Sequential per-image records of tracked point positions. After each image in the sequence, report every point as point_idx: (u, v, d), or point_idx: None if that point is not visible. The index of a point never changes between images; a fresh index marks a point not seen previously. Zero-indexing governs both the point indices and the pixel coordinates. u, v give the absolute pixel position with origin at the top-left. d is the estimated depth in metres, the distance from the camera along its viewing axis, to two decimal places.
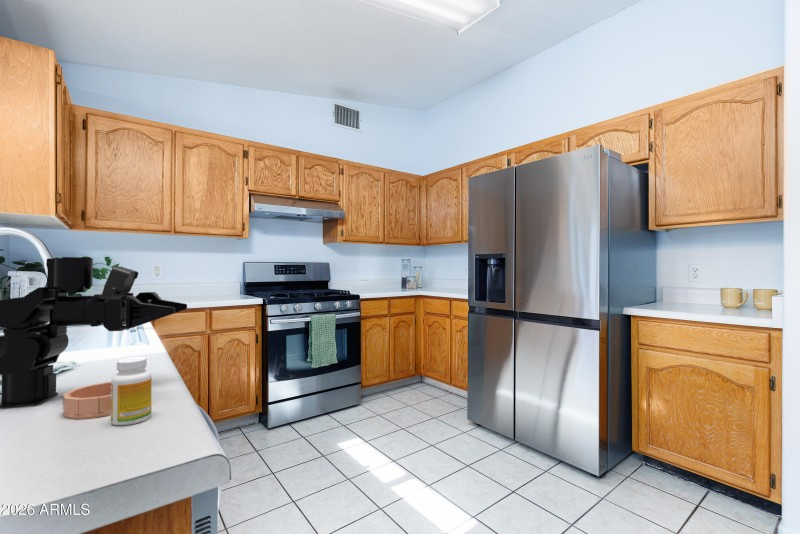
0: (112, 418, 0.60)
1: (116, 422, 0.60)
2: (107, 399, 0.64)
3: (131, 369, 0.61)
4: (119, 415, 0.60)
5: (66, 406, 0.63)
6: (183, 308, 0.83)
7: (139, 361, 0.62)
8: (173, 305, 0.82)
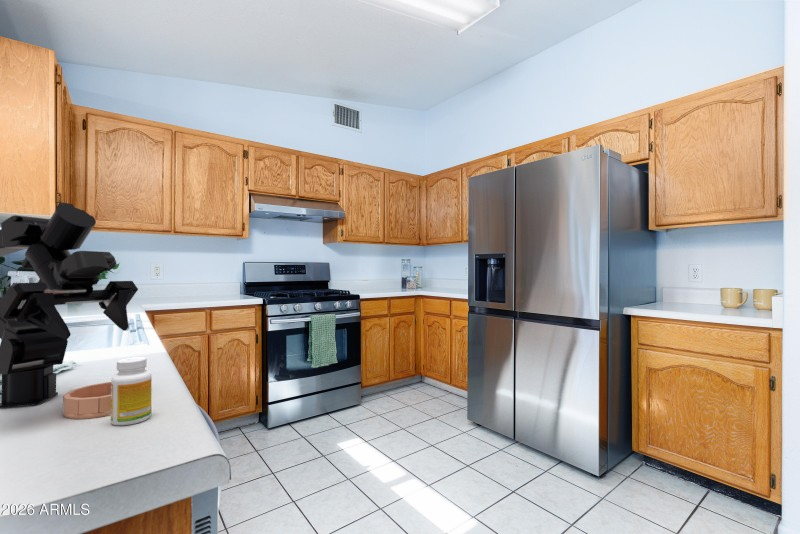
0: (112, 418, 0.60)
1: (116, 422, 0.60)
2: (107, 399, 0.64)
3: (131, 369, 0.61)
4: (119, 415, 0.60)
5: (66, 406, 0.63)
6: (123, 327, 0.70)
7: (139, 361, 0.62)
8: (119, 317, 0.70)
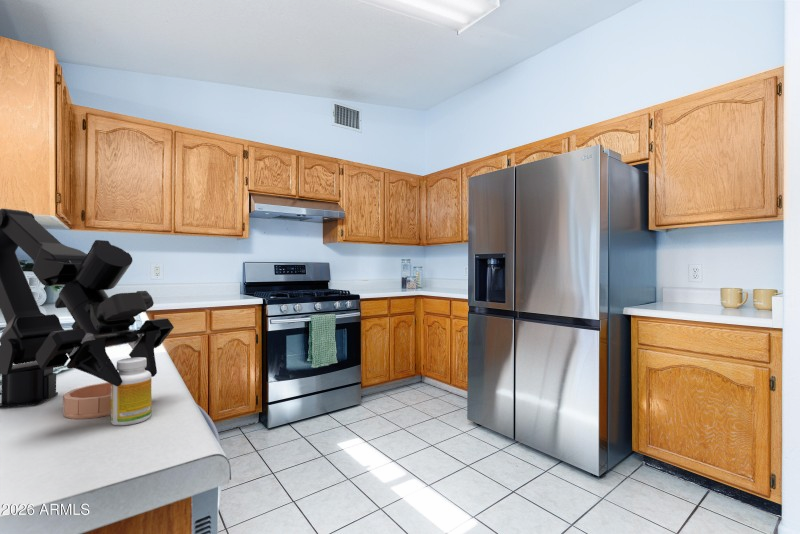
0: (112, 418, 0.60)
1: (116, 422, 0.60)
2: (107, 399, 0.64)
3: (131, 369, 0.61)
4: (119, 415, 0.60)
5: (66, 406, 0.63)
6: (151, 373, 0.65)
7: (139, 361, 0.62)
8: (147, 362, 0.65)
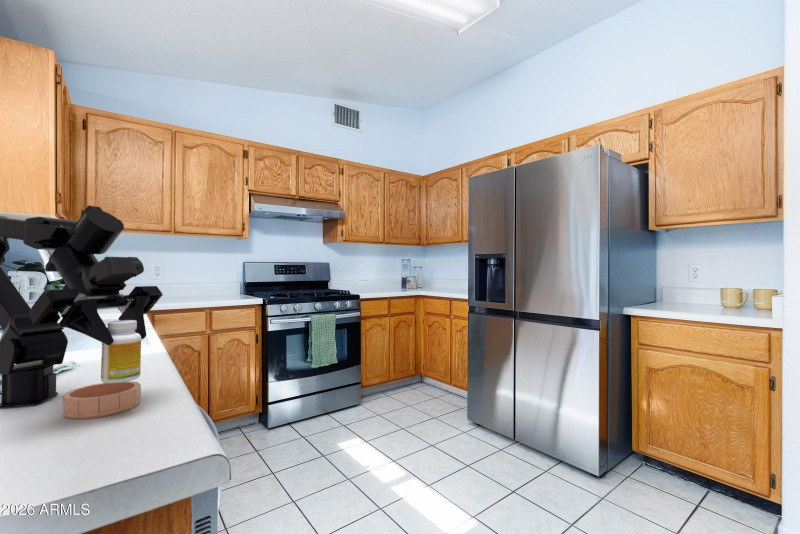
0: (102, 376, 0.62)
1: (106, 380, 0.62)
2: (107, 399, 0.64)
3: (122, 329, 0.63)
4: (109, 373, 0.62)
5: (66, 406, 0.63)
6: None
7: (130, 322, 0.64)
8: (137, 325, 0.68)
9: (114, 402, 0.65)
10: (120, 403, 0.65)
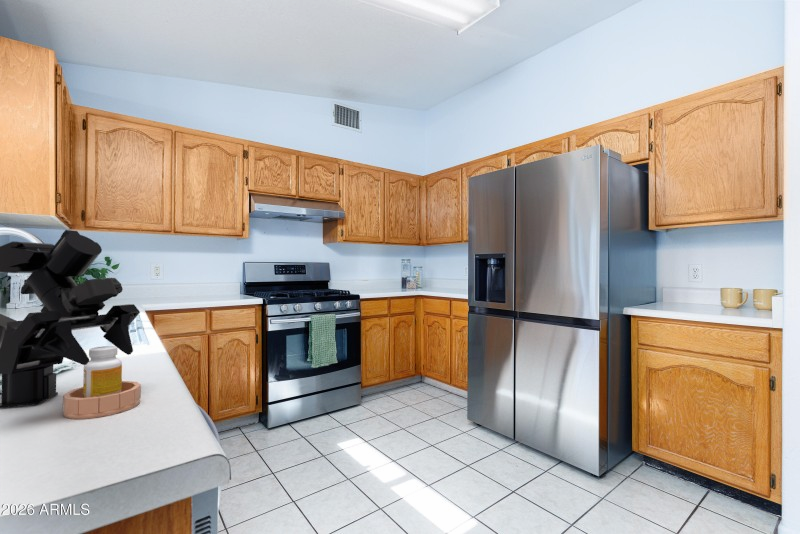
0: None
1: None
2: (107, 399, 0.64)
3: (104, 356, 0.67)
4: None
5: (66, 406, 0.63)
6: (127, 351, 0.72)
7: (111, 349, 0.68)
8: (123, 341, 0.72)
9: (114, 402, 0.65)
10: (120, 403, 0.65)
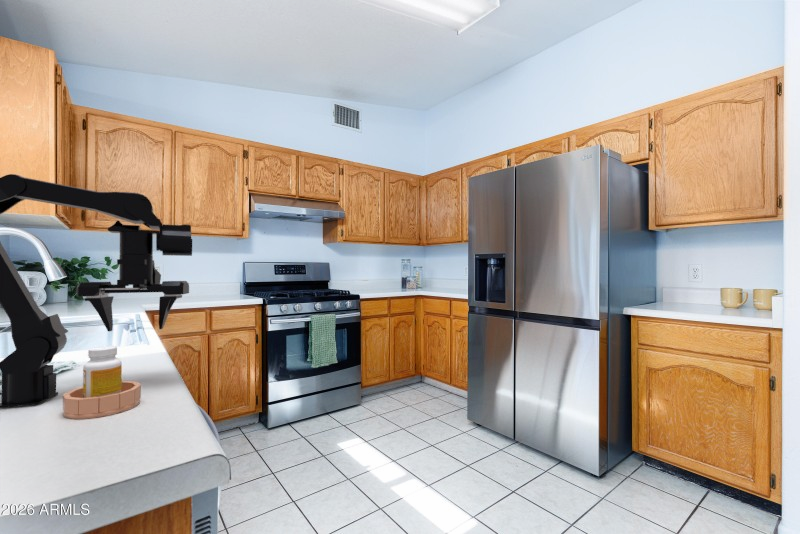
0: None
1: None
2: (107, 399, 0.64)
3: (103, 356, 0.67)
4: None
5: (66, 406, 0.63)
6: (109, 328, 0.78)
7: (111, 349, 0.68)
8: (111, 318, 0.79)
9: (114, 402, 0.65)
10: (120, 403, 0.65)
